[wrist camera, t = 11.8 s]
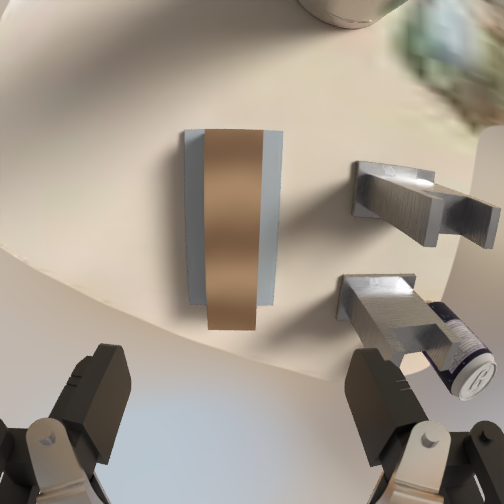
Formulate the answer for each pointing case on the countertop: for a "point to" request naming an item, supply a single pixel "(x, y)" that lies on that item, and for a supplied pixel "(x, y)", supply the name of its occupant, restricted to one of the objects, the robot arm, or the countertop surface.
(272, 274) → the mat
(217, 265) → the rail
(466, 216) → the grey metal bracket
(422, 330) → the grey bracket
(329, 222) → the countertop surface
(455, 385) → the beverage can
